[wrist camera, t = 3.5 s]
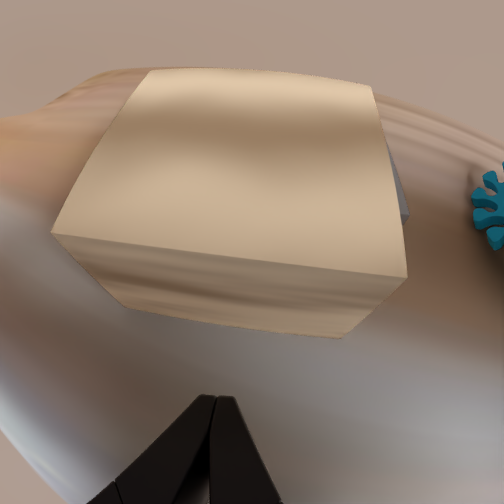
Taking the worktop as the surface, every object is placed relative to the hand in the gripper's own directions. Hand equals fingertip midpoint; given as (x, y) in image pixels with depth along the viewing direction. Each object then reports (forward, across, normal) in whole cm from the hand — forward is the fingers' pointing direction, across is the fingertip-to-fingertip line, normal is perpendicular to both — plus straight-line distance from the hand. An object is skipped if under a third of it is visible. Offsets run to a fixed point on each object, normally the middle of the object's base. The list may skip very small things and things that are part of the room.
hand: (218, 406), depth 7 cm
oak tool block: (+11, 0, -1) cm, 11 cm away
